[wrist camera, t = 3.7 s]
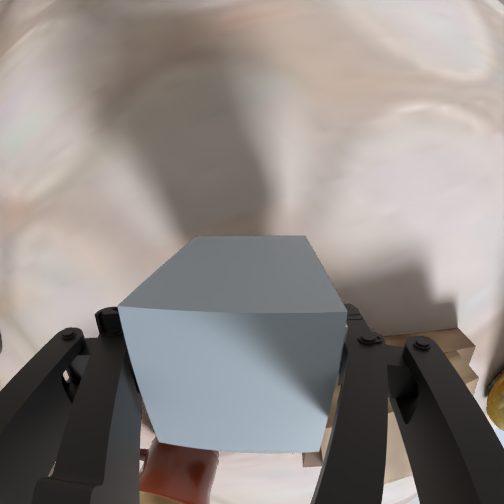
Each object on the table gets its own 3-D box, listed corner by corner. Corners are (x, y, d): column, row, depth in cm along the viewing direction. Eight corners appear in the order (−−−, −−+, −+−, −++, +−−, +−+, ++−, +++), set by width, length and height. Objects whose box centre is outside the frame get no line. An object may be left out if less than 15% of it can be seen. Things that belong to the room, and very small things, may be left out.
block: (203, 330, 17) (158, 442, 9) (196, 235, 16) (117, 305, 7) (300, 332, 17) (319, 451, 8) (305, 235, 15) (347, 311, 7)
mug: (227, 423, 25) (208, 506, 15) (228, 463, 27) (214, 531, 17) (121, 401, 26) (81, 466, 16) (137, 444, 28) (109, 501, 18)
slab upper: (324, 466, 22) (327, 496, 18) (313, 390, 19) (318, 429, 15) (433, 435, 20) (445, 461, 16) (455, 349, 17) (478, 377, 13)
